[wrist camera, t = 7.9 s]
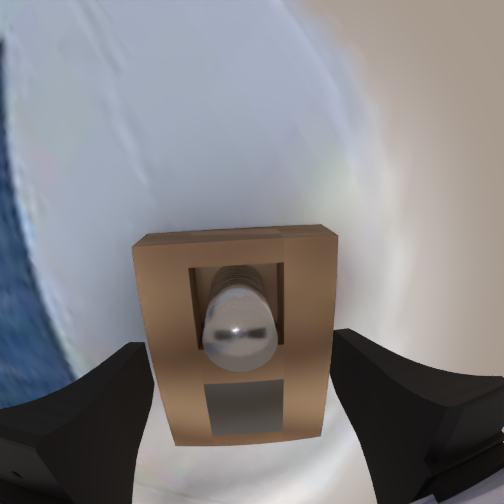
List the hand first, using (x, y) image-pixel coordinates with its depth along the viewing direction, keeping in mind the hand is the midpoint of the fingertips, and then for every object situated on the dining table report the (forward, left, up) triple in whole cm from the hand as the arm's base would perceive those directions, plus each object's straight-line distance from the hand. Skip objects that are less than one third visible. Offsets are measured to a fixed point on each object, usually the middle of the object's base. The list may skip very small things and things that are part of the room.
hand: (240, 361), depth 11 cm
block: (-3, 0, -8) cm, 8 cm away
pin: (0, 0, -7) cm, 7 cm away
